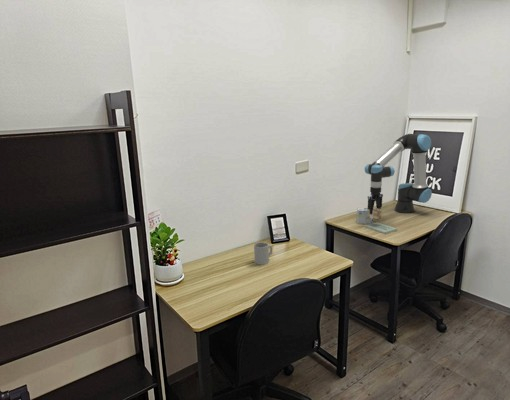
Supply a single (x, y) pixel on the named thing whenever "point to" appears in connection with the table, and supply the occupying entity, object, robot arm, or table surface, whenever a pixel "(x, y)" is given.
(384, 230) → the board
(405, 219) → the table surface
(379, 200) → the robot arm
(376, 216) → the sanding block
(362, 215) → the light bulb box
